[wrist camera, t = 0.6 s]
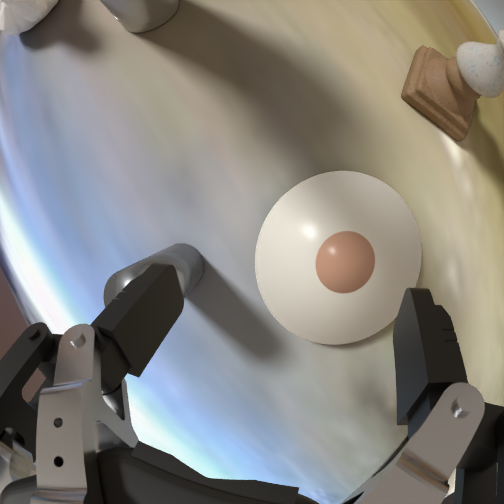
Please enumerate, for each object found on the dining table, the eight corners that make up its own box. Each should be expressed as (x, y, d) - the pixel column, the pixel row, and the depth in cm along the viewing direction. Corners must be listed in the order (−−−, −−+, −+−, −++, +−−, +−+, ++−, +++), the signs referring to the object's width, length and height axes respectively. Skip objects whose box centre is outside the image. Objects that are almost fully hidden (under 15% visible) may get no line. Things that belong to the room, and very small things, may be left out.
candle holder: (399, 97, 29) (518, 15, 5) (416, 48, 27) (505, -33, 4) (458, 143, 29) (587, 114, 6) (470, 90, 27) (572, 45, 4)
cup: (154, 253, 34) (93, 282, 20) (193, 236, 33) (146, 258, 19) (172, 293, 34) (123, 343, 21) (211, 278, 34) (177, 326, 20)
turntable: (228, 209, 31) (226, 210, 29) (387, 151, 29) (392, 149, 27) (290, 360, 34) (291, 367, 32) (428, 301, 32) (433, 304, 30)
